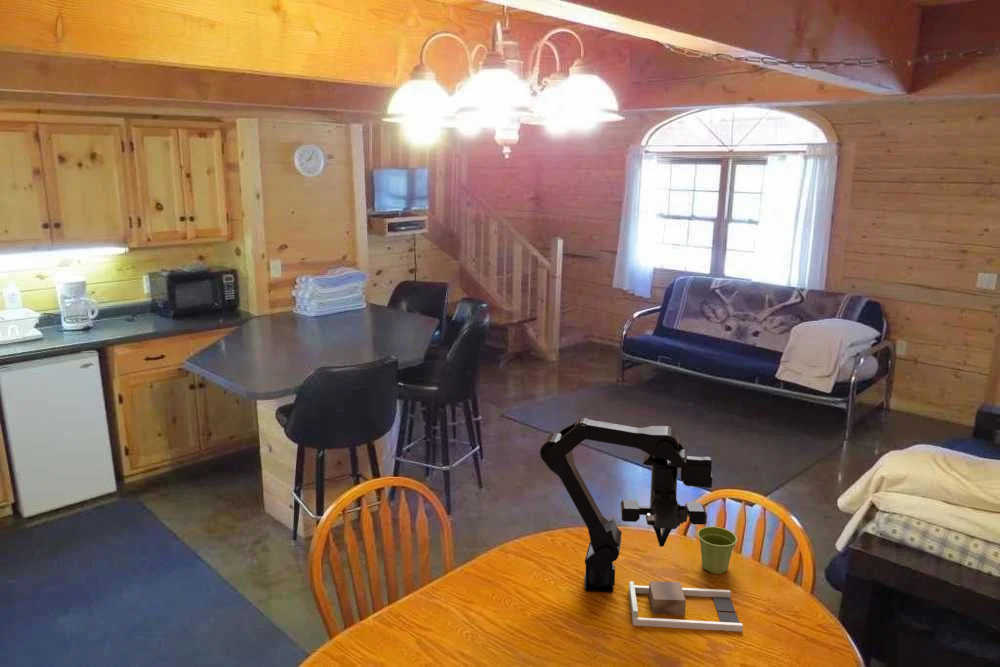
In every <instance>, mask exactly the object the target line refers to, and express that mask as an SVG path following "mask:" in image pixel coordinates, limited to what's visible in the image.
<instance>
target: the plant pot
mask: <svg viewBox="0 0 1000 667" xmlns="http://www.w3.org/2000/svg"><path fill="white" fill-rule="evenodd" d="M696 533H697V534H696V535H697V537H698V540H699V543H700V556H701V566H702V568H703V569H704V570H706V571H708V572H709V573H712V574H715V575H716V574H718V575H719V574H720V575H721V574H723V573H725V572H727V571H728V570H729V565H730V562H731V561H730V560H731V557H732V552H733V549H734V547H735V545H736V544H737V543H738V537H737V535H736V533H734V532H732V531H731V530H730V529H727V528H723V527H720V526H712V525H711V526H704V527H702V528H700V529H699V530H697V532H696Z"/></svg>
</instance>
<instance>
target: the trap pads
mask: <svg viewBox="0 0 1000 667" xmlns="http://www.w3.org/2000/svg"><path fill="white" fill-rule="evenodd" d="M712 600H713V602H714V606H716V607H715V610H716V612H717V615H718V619H719V622H730V623H740V620H739V617H738V615H737V612H736V609H735V607H734V603H733V601H732V598H731V597H730V598H726V597H712ZM721 611H726V612H721ZM727 611H728V612H727Z"/></svg>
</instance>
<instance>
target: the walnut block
mask: <svg viewBox="0 0 1000 667" xmlns="http://www.w3.org/2000/svg"><path fill="white" fill-rule="evenodd" d="M648 586H649V594H648V598H649V603H650V607H651V611H652V612H651V613H652V615H659V614H665V615H666V614H671V615H670V616H686V603H687V602H686V596H684V593H683V590H682V588H683V587H682V584H681V582H680V581H652V580H650V581H649V583H648ZM665 615H664V616H665ZM666 616H667V615H666Z"/></svg>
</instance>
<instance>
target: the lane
mask: <svg viewBox="0 0 1000 667" xmlns="http://www.w3.org/2000/svg"><path fill="white" fill-rule="evenodd" d="M628 583H629V584H628V594H629V595H630V596H629V602H630V603H629V604H630V610H631V611H632V612H631V618H632V619H631V620H632V626H638V627H651V628H652V627H653V628H654V627H656V628H673V629H689V630H704V631H705V630H707V631H721V630H722V631H723V630H724V631H723V632H741V633H742V632H743V629H744V628H743V627H744V625H743V622H739V623H730V622H720V621H709V620H708V621H707V620H692V619H691V620H690V619H689V620H687V619H675V618H674V619H673V618H659V617H658V618H655V617H641V616H640V617H639V609H638V603H637V595H636V594H643V595H644V594H646V595H647V594H648V595H649V585H640V584H639V585H637V584H635V581H629V582H628ZM682 590H683V593H684V595H685V597H702V598H703V597H707V598H713V597H726V598H731V595H732V594H731V593H732V592H731V590H730V589H715V588H713V589H712V588H711V589H710V588H698V587H697V588H695V587H682Z"/></svg>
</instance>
